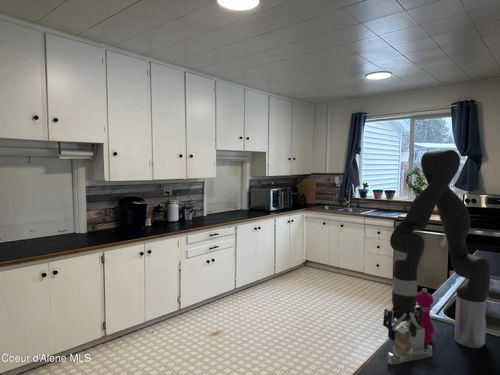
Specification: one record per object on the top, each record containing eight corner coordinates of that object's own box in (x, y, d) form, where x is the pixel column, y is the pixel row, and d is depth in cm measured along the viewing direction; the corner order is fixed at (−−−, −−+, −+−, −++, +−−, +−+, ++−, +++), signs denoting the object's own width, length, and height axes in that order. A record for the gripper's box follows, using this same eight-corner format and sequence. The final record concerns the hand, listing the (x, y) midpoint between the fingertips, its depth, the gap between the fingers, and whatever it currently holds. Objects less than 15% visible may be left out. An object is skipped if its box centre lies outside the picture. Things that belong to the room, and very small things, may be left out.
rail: (428, 353, 120) (428, 344, 120) (431, 356, 119) (432, 346, 119) (387, 363, 115) (388, 353, 114) (391, 365, 113) (391, 355, 113)
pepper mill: (409, 339, 130) (411, 288, 129) (416, 332, 136) (418, 283, 134) (429, 346, 125) (431, 293, 124) (436, 339, 130) (438, 288, 129)
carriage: (404, 353, 118) (405, 327, 117) (412, 359, 115) (413, 332, 114) (392, 356, 116) (393, 329, 116) (400, 362, 113) (401, 334, 112)
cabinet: (413, 343, 127) (413, 323, 127) (423, 350, 122) (424, 329, 122) (399, 346, 125) (400, 325, 125) (410, 353, 120) (411, 331, 120)
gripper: (412, 285, 120) (410, 329, 121) (379, 289, 115) (377, 335, 116) (430, 292, 113) (427, 340, 114) (395, 297, 108) (393, 346, 109)
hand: (402, 337), depth 115 cm, fingers open, 8 cm apart
